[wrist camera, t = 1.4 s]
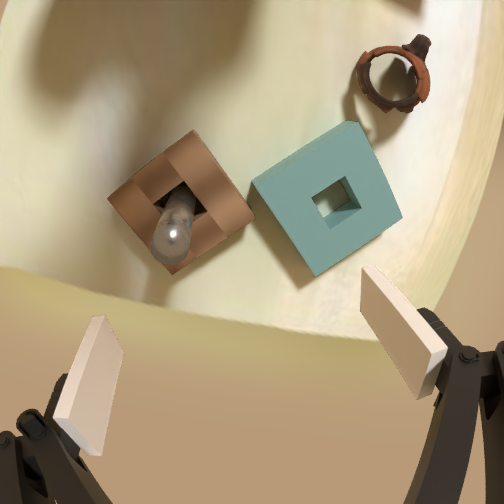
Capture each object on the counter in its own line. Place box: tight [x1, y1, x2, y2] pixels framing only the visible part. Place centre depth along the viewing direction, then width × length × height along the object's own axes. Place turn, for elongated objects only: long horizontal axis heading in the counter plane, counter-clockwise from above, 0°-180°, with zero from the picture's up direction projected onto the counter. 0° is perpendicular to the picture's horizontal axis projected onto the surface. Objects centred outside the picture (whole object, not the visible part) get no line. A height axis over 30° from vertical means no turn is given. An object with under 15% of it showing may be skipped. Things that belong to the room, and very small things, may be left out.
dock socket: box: [252, 120, 403, 277], centre depth 38 cm, size 14×14×4 cm
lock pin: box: [150, 186, 196, 265], centre depth 32 cm, size 3×3×14 cm
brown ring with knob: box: [357, 34, 431, 113], centre depth 31 cm, size 12×10×8 cm
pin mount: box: [107, 130, 255, 275], centre depth 36 cm, size 12×12×4 cm
